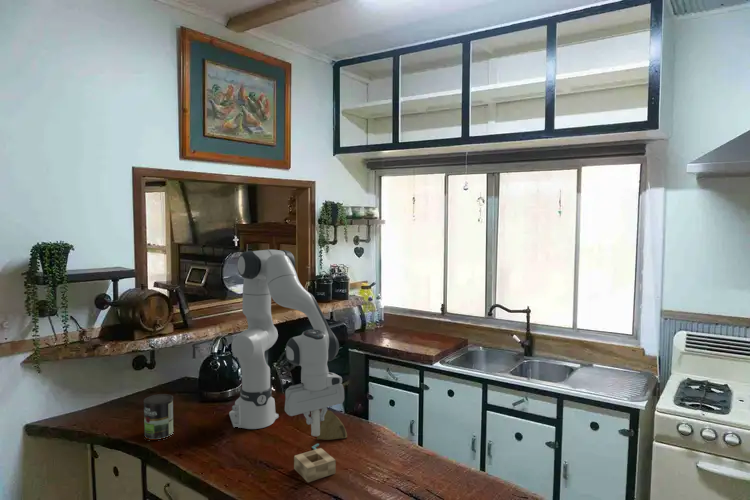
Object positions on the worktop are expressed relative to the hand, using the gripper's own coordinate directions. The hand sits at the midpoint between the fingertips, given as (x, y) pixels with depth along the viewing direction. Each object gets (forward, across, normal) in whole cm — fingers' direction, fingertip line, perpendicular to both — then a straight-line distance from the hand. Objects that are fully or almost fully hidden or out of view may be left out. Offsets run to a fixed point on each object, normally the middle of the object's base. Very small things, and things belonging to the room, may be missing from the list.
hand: (315, 422), depth 161 cm
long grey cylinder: (+4, 0, 0) cm, 4 cm away
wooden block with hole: (+17, 0, 0) cm, 17 cm away
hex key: (+17, +8, +11) cm, 21 cm away
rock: (+17, +17, +18) cm, 30 cm away
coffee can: (+16, -37, +56) cm, 69 cm away
